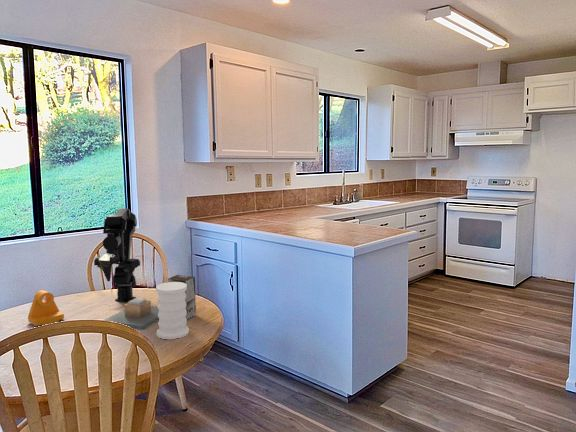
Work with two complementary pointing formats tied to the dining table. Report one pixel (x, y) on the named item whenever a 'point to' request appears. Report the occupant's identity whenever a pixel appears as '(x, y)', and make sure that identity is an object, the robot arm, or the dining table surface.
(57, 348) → the dining table surface
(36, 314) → the bracket
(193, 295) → the coffee box
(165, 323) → the decorative container
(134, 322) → the duct base
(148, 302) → the collar
